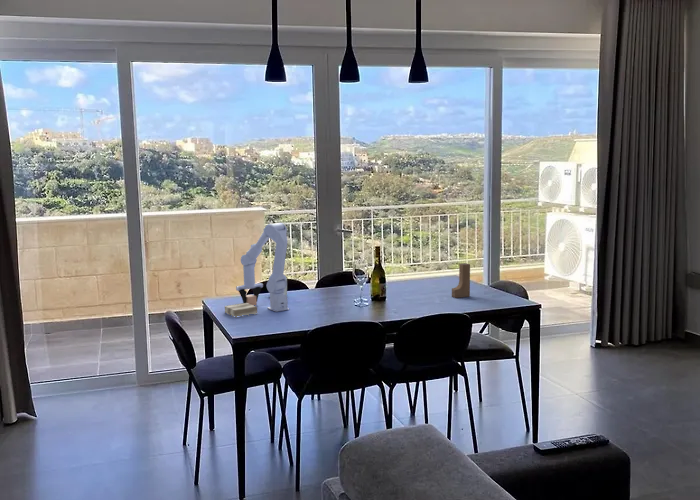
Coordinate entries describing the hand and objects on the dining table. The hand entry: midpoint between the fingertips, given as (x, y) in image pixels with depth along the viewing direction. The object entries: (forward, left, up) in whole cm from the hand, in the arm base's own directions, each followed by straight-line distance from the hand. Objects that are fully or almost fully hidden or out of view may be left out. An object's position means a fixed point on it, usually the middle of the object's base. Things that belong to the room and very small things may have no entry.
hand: (250, 302), depth 355 cm
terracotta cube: (0, 0, -2) cm, 2 cm away
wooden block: (-54, -100, -2) cm, 114 cm away
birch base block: (-14, +12, -2) cm, 19 cm away
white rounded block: (+11, -23, -2) cm, 26 cm away
